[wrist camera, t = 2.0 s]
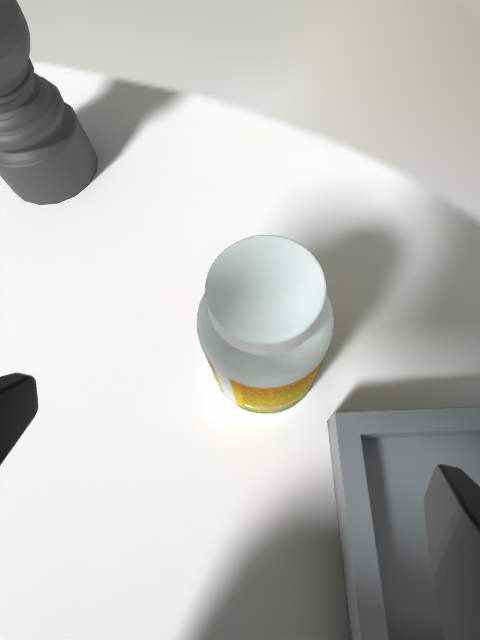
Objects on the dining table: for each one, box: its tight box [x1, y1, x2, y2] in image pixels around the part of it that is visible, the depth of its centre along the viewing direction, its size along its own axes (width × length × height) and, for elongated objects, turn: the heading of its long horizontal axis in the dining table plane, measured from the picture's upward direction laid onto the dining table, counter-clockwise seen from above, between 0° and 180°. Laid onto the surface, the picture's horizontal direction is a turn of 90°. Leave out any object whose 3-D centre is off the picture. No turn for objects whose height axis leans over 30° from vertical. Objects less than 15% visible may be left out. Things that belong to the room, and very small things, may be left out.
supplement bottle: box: [197, 235, 334, 414], centre depth 18 cm, size 5×5×10 cm
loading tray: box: [327, 407, 480, 640], centre depth 17 cm, size 10×10×2 cm
